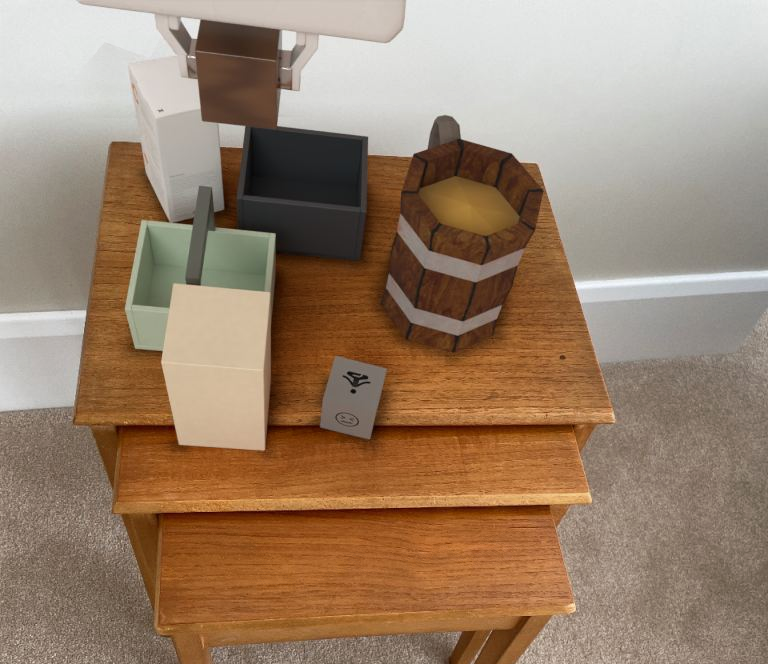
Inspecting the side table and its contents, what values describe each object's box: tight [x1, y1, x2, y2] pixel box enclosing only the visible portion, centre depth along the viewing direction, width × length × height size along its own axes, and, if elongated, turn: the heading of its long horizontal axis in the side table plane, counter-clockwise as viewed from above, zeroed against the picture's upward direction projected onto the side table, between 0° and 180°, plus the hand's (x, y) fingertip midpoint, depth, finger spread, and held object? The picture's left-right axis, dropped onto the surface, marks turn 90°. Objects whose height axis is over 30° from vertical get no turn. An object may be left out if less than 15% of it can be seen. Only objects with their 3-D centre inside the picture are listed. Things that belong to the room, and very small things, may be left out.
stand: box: [160, 283, 272, 452], centre depth 69 cm, size 8×8×13 cm
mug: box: [380, 114, 544, 353], centre depth 79 cm, size 20×14×15 cm
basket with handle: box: [124, 186, 277, 352], centre depth 75 cm, size 13×11×11 cm
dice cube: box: [319, 355, 388, 440], centre depth 75 cm, size 5×5×5 cm
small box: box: [127, 54, 225, 223], centre depth 80 cm, size 8×6×13 cm
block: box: [195, 19, 283, 130], centre depth 51 cm, size 5×5×5 cm
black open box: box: [236, 125, 369, 262], centre depth 84 cm, size 13×11×7 cm
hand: (242, 78), depth 52 cm, fingers closed on block, 5 cm apart
